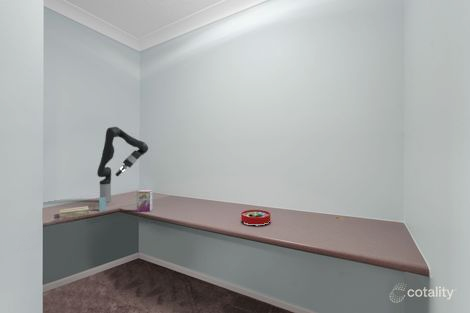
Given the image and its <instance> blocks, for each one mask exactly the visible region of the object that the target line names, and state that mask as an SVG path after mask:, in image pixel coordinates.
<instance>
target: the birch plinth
mask: <svg viewBox="0 0 470 313" xmlns="http://www.w3.org/2000/svg"><path fill="white" fill-rule="evenodd" d="M88 215H90V209H89V206H88V205H84V206H76V207H68V208H60V209H59V219H60V218H61V219H68V218H74V217H80V216H81V217H82V216H88Z"/></svg>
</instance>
